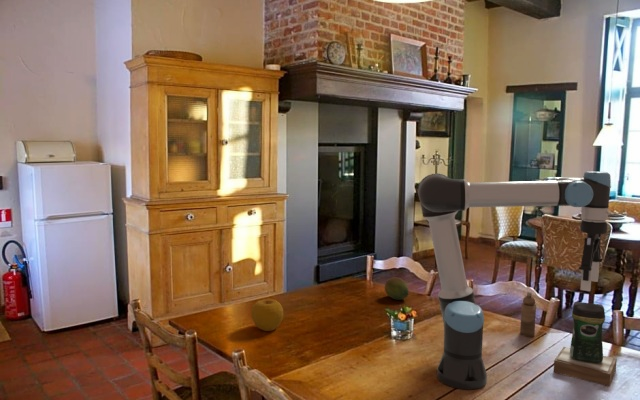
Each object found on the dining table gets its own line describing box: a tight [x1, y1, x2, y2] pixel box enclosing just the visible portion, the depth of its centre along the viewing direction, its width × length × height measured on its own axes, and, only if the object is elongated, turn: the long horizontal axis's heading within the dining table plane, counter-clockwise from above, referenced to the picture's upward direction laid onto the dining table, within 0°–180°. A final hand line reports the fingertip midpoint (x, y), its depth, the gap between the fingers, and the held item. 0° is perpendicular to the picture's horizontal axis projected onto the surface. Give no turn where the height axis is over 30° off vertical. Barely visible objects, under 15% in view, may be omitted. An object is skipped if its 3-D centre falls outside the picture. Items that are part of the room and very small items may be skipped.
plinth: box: [553, 346, 617, 387], centre depth 165 cm, size 14×16×4 cm
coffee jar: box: [569, 301, 606, 363], centre depth 164 cm, size 10×8×19 cm
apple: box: [250, 298, 284, 332], centre depth 201 cm, size 13×13×11 cm
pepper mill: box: [519, 291, 537, 338], centre depth 197 cm, size 5×5×17 cm
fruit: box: [384, 276, 409, 301], centre depth 241 cm, size 12×13×10 cm
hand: (589, 285), depth 163 cm, fingers open, 13 cm apart
